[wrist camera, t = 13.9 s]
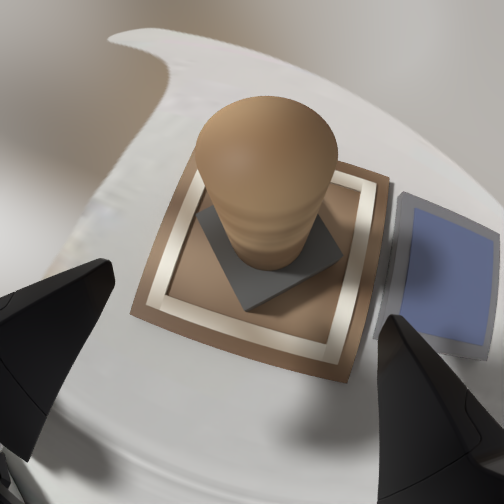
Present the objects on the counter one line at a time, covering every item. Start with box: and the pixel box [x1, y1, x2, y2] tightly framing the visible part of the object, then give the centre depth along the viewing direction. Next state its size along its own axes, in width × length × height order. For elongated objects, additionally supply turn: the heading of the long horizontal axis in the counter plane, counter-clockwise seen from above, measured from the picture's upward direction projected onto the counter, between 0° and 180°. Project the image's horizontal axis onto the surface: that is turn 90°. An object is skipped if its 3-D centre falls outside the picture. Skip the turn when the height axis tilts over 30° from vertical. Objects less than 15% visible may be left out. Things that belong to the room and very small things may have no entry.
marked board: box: [130, 146, 389, 383], centre depth 17 cm, size 14×14×1 cm
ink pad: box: [373, 191, 500, 361], centre depth 16 cm, size 10×10×1 cm
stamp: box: [195, 96, 344, 312], centre depth 12 cm, size 6×6×10 cm
